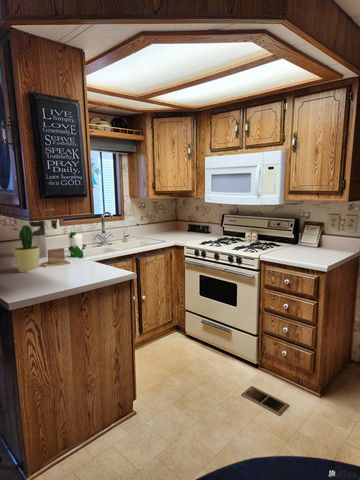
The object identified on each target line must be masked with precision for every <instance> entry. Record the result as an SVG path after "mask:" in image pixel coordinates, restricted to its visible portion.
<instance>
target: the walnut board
mask: <svg viewBox="0 0 360 480" xmlns="http://www.w3.org/2000/svg"><path fill="white" fill-rule="evenodd" d="M65 258H66V257H65V248H63V247H61V248H51V249H47V261H48V264H49V265H50V264H57V263H64V262H65V260H66V259H65Z"/></svg>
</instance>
